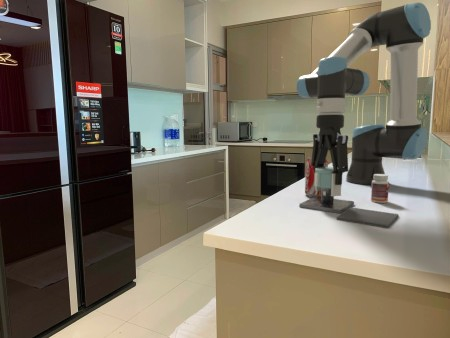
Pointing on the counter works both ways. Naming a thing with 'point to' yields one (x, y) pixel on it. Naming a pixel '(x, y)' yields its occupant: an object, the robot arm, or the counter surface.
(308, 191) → the soda can
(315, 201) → the post
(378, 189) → the pill bottle
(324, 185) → the cap
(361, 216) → the mat
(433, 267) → the counter surface
